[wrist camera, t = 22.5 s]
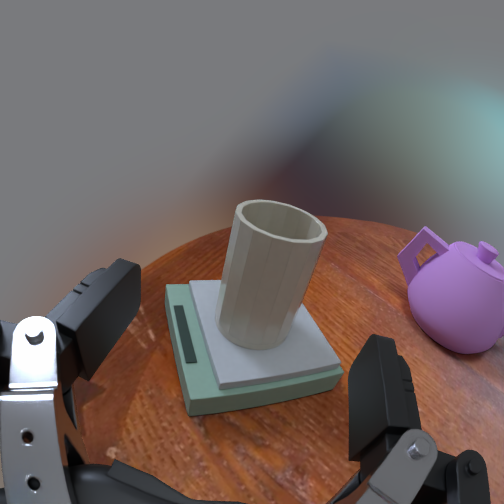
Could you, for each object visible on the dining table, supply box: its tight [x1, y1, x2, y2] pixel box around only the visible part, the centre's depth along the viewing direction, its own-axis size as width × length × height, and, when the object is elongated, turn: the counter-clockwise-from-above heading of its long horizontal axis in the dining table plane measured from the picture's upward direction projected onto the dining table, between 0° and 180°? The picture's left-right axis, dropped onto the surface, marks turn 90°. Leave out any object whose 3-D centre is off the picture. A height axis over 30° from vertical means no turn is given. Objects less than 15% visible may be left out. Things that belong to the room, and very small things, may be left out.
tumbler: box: [215, 200, 328, 350], centre depth 22 cm, size 6×6×9 cm
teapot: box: [397, 226, 504, 354], centre depth 32 cm, size 22×16×12 cm
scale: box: [165, 280, 344, 416], centre depth 25 cm, size 12×12×3 cm
